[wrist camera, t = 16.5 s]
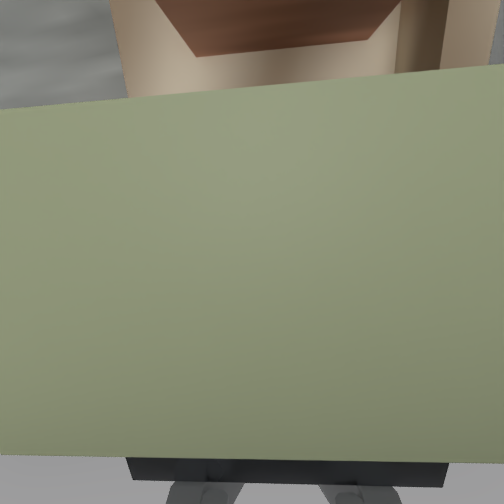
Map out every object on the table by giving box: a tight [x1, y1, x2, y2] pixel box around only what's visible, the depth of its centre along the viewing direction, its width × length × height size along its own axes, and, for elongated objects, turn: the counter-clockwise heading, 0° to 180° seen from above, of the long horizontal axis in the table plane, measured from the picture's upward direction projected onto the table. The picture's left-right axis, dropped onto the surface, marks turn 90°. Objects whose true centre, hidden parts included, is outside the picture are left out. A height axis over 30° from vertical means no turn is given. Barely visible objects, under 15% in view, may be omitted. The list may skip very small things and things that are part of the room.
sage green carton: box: [0, 64, 504, 464], centre depth 7 cm, size 4×8×9 cm, turn 94°
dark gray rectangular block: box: [125, 457, 449, 488], centre depth 9 cm, size 7×4×7 cm, turn 94°
